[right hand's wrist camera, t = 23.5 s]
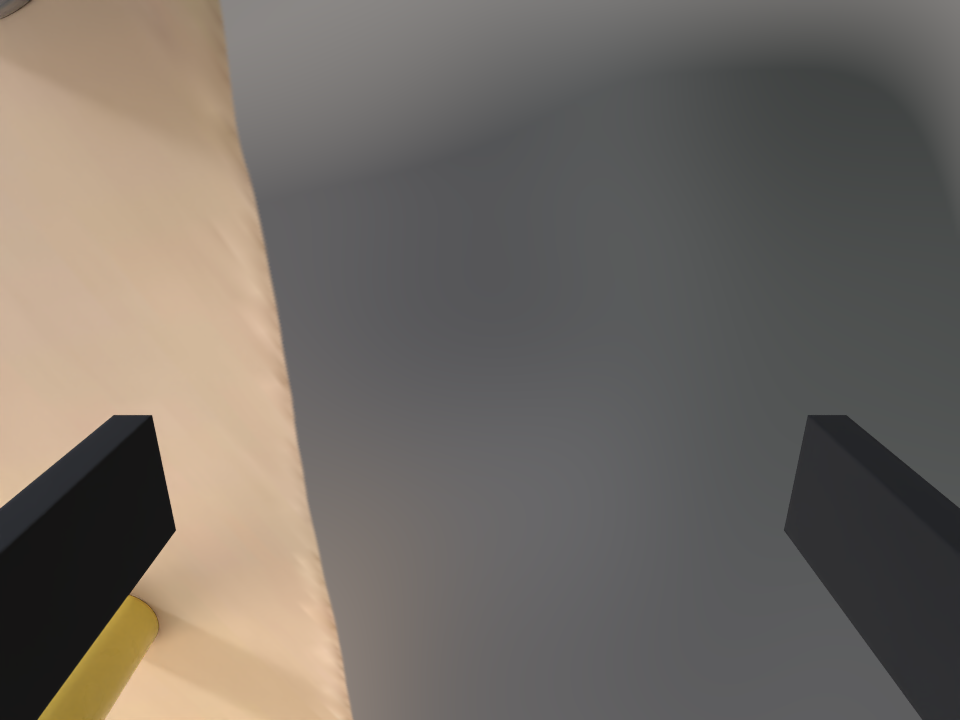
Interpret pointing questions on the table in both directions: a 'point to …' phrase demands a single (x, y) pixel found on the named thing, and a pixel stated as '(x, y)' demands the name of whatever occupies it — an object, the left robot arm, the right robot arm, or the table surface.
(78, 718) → the cylinder
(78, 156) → the table surface
